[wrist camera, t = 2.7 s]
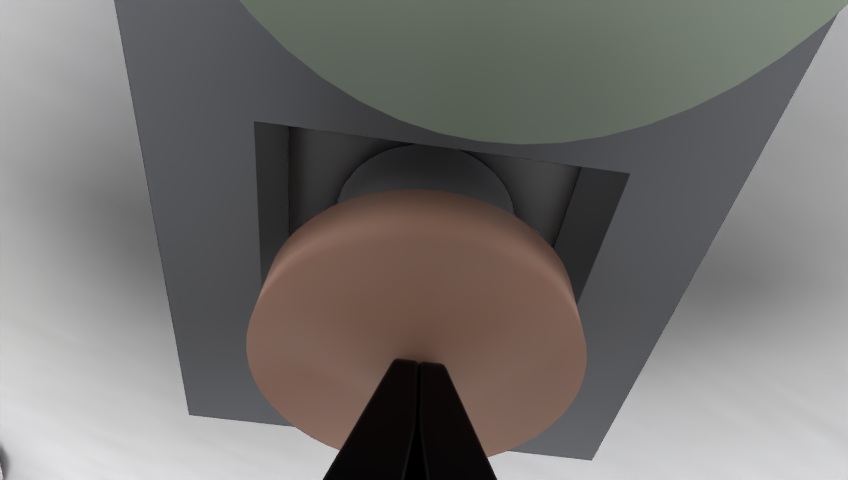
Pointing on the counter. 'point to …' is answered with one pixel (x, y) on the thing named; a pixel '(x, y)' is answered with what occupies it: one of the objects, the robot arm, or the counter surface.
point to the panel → (339, 112)
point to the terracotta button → (419, 302)
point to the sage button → (538, 58)
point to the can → (0, 475)
